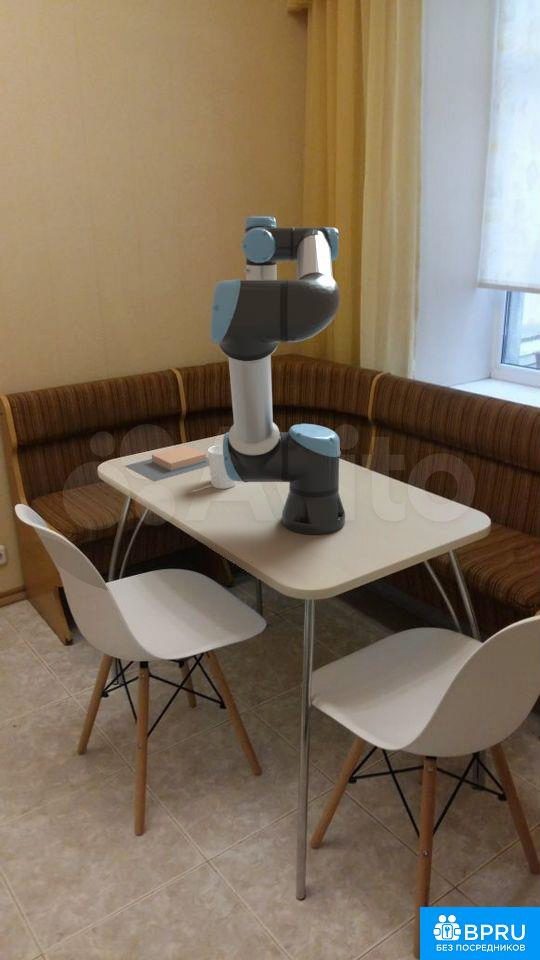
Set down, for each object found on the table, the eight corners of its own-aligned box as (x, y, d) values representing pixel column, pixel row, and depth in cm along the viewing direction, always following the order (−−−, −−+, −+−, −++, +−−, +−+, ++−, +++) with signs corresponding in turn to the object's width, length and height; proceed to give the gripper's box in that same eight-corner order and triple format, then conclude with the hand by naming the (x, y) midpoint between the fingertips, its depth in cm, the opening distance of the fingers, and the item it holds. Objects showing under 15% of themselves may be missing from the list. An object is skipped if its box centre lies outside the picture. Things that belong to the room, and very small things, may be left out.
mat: (154, 483, 206) (154, 481, 206) (124, 467, 217) (124, 465, 217) (219, 464, 219) (219, 462, 219) (187, 451, 230) (187, 449, 230)
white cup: (225, 492, 200) (224, 456, 196) (203, 485, 204) (201, 450, 201) (244, 483, 206) (243, 448, 202) (222, 477, 210) (221, 442, 206)
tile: (170, 463, 211) (205, 454, 219) (151, 454, 218) (186, 445, 226) (171, 471, 212) (206, 462, 219) (152, 462, 219) (186, 453, 227)
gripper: (238, 279, 193) (240, 370, 201) (255, 285, 181) (256, 382, 190) (266, 278, 195) (267, 368, 204) (284, 284, 184) (284, 379, 192)
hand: (262, 375), depth 197 cm, fingers closed
